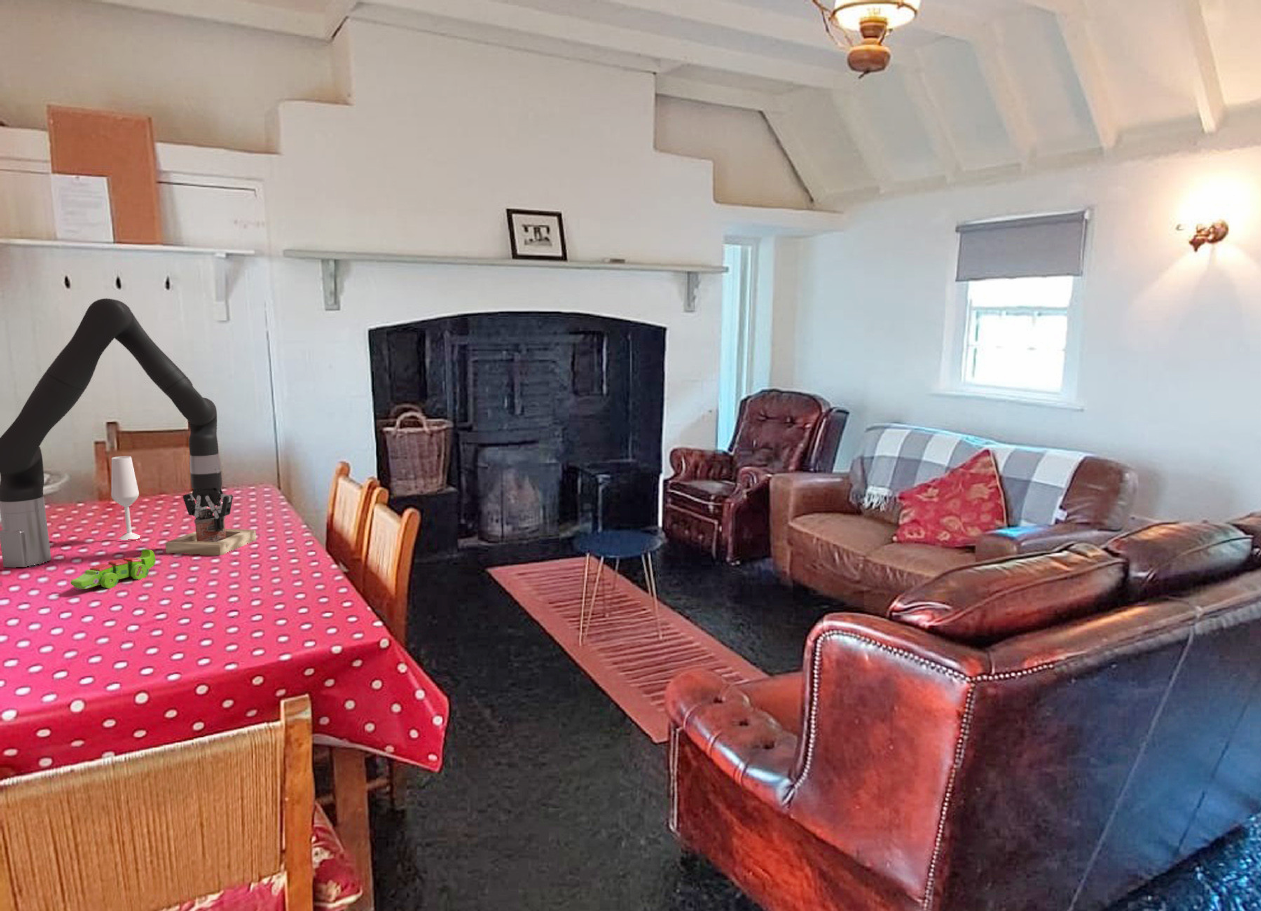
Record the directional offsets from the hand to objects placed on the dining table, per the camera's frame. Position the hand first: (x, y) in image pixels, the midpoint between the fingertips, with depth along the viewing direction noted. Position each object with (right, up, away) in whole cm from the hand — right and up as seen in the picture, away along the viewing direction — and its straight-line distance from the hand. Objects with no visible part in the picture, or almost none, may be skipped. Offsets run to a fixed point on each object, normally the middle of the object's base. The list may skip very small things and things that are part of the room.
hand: (210, 530), depth 220 cm
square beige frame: (0, -5, +1) cm, 5 cm away
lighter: (0, -4, +1) cm, 4 cm away
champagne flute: (-28, -4, +9) cm, 30 cm away
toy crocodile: (-7, -10, -30) cm, 32 cm away
